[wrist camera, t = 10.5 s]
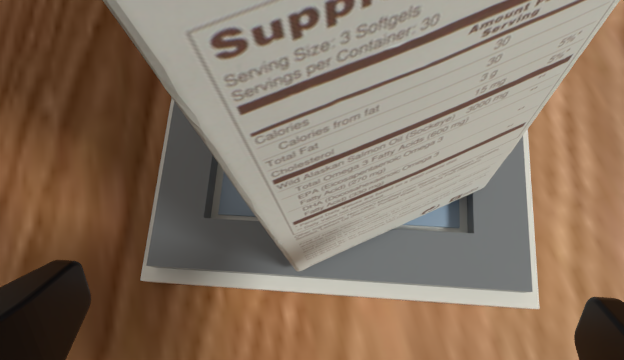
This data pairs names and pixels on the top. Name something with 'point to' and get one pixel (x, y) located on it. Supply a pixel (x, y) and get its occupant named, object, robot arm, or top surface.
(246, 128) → the supplement box
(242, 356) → the top surface
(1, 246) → the top surface
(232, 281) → the grey square tray
